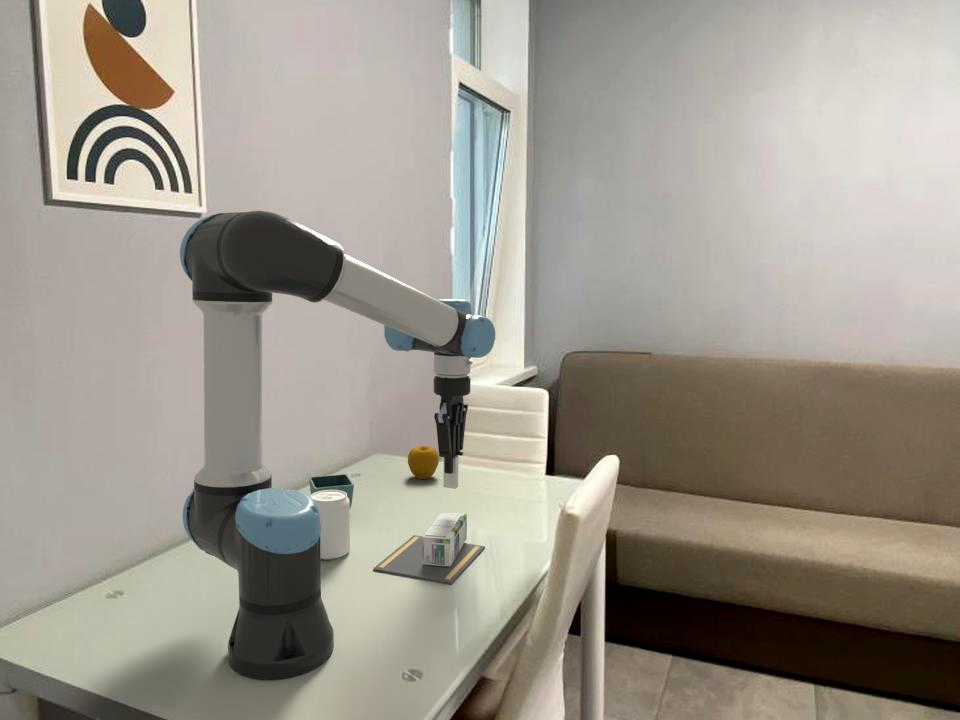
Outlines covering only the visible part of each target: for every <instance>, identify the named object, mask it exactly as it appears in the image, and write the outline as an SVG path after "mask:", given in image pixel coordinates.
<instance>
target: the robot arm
mask: <svg viewBox="0 0 960 720" xmlns="http://www.w3.org/2000/svg"><path fill="white" fill-rule="evenodd" d="M179 259H180V261H179V262H180V264H181V267H182V270H183V272H184V273H185V275H186V276H187V277H188V278H189V280H190V281H191V282H192V283H191V284H192V285H191V286H192V287H191V289H192V303H194V305H196V307H197V308H198V309H199V310H200V311H201V312H202V314H203V411H204V412H203V419H204V420H203V421H204V422H203V423H204V425H203V429H204V430H203V431H204V433H203V434H204V440H203V441H204V442H203V443H204V464H203V467H202V468H201V469H200V470H198V471H197V473H195V475H194V478H193V489H192V492H191V493H190V494H188V495H187V496H186V499H185V502H184V505H183V510H182V523H183V528H184V531H185V532H186V534H187V536H188V537H189V539H190V540H191V542H193V543H194V544H195V545H196V546H197V547H198V548H199V549H200V550H201V551H203V552H205V554H207V555H210V556H213V557H215V558H216V559H218V560H220V561H221V562H223V563H224V564H226V565H227V566H230V568H232V569H233V570H236V571H237V573H238V575H237V576H238V599H239V600H238V601H239V605H238V609H237V612H236V617H235V619H234V623H233V626H232V630H231V632H230V635H229V639H228V643H227V655H228V656H227V657H228V658H227V659H228V664H229V666H230V668H231V669H232V670H234V672H237V673H238V674H240V675H242V676H245V677H247V678H253V679H257V680H278V679H286V678H287V679H288V678H291V677H295V676H299V675H301V674H304V673H307V672H309V671H312V670H314V669H316V668H317V667H319V666H321V665H322V664H323V663H324V662H326V661H327V660H328V658H329V657H330V656H331V655H332V653H333V651H334V648H335V645H334V644H335V641H334V640H335V639H334V628H333V626H332V624H331V622H330V619H329V616H328V613H327V610H326V607H325V604H324V601H323V599H322V574H321V573H322V569H321V568H322V567H321V566H322V565H321V562H322V561H321V560H322V559H321V550H320V534H321V523H320V515H319V509H318V506H317V504H316V502H315V501H314V500H313V499H312V498H311V497H310V496H311V495H308V494H307V493H304V492H302V491H299V490H295V489H293V488H291V489H285V488H282V487H273V486H272V485H273V484H272V480H273V479H272V470H270V469H269V467H266V465H264V464H263V461H262V460H263V454H262V453H263V452H262V451H263V449H262V447H263V440H262V437H263V411H262V410H263V409H262V408H263V314H264V312H266V310H267V309H269V307H270V306H271V305H273V294H274V293H275V294H280V295H287V296H293V297H297V298H300V299H303V300H304V301H305V300H306V301H308V302H310V303H316V304H317V303H319V302H320V303H321V302H322V301H326V302H328V303H331V304H334V305H335V306H337V307H340V308H343V309H345V310H348V311H350V312H352V313H354V314H357V315H360V316H361V317H364V318H365V319H369V320H372V321H374V322H377V323H379V324H381V325H384V326H383V331H384V332H383V333H384V334H383V335H384V338H385V341H386V344H387V345H388V347H389V348H391V349H392V350H394V351H396V352H402V351H403V352H410V351H421V352H422V351H423V352H426V353H427V352H429V353H433V373H434V374H435V376H434V377H433V393H434V394H435V395H436V396H439V397H440V402H439V412H435V413H434V417H433V419H434V421H435V424H436V425H435V426H436V436H437V445H438V456H439V458H443V484H442V485H443V488H447V489H454V490H455V489H457V488H458V487H459V461H460V460H459V459H460V458H459V456H460V457H462V456H463V455H464V452H463V449H464V443H465V431H466V421H467V419H466V418H467V414H468V408H469V405H468V403H465V402H464V397H466V396H468V395H470V393H471V383H472V382H471V379H472V378H471V377H470V373H471V366H472V365H473V363H474V361H473V360H472V359H471V358H474V359H475V358H476V359H479V358H480V359H481V358H483V357H486V356H488V355H489V354H490V352H491V351H492V350H493V348H494V344H495V341H496V328H495V326H494V323H493V322H492V321H491V319H489V318H488V317H486V316H483V315H478V314H477V313H475V314H472V304H471V302H470V301H469V300H467V299H462V298H459V299H457V298H450V299H449V298H441V299H440V298H439V299H436V298H434V297H433V296H430V295H428V294H426V293H424V292H422V291H420V290H418V289H417V288H414V287H412V286H411V285H408V284H406V283H404V282H402V281H400V280H398V279H396V278H394V277H391V276H390V275H387V273H384V272H381V271H380V270H377V269H375V267H372V266H369V265H368V264H366V263H363V262H361V261H360V260H357V259H356V258H353V257H351V256H349V255H347V254H345V250H344V248H343V247H342V246H341V244H340V243H338V242H336V241H335V240H332V239H330V238H328V237H327V236H324V235H323V234H321V233H318V232H316V231H314V230H313V229H310V228H308V227H307V226H304V224H301V223H299V222H296V221H294V220H293V219H290V218H288V217H286V216H283V215H280V214H277V213H275V212H270V211H265V210H253V211H252V210H251V211H241V212H238V211H237V212H218V213H215V214H212V215H209V216H206V217H202V218H201V219H199V220H197V221H196V222H194V223H193V224H192V225H191V226H190V227H189V228H188V229H187V231H186V232H185V234H184V236H183V238H182V240H181V244H180V249H179Z"/></svg>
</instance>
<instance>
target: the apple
mask: <svg viewBox="0 0 960 720" xmlns="http://www.w3.org/2000/svg"><path fill="white" fill-rule="evenodd" d="M439 462H440V457H439V451H438V450H437V449H436V448H434V447H433V446H431V445H419V446H414V447H412V448H411V449H410V450H409V453H408V455H407V465H408V467H409V471H410V472H411V474H412V475H413V476H414V477H415V478H416V479H418V480H427V478H428V479H431V478H432V477H433V475H434V474H435V473H436V470H437V468H438V466H439Z"/></svg>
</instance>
